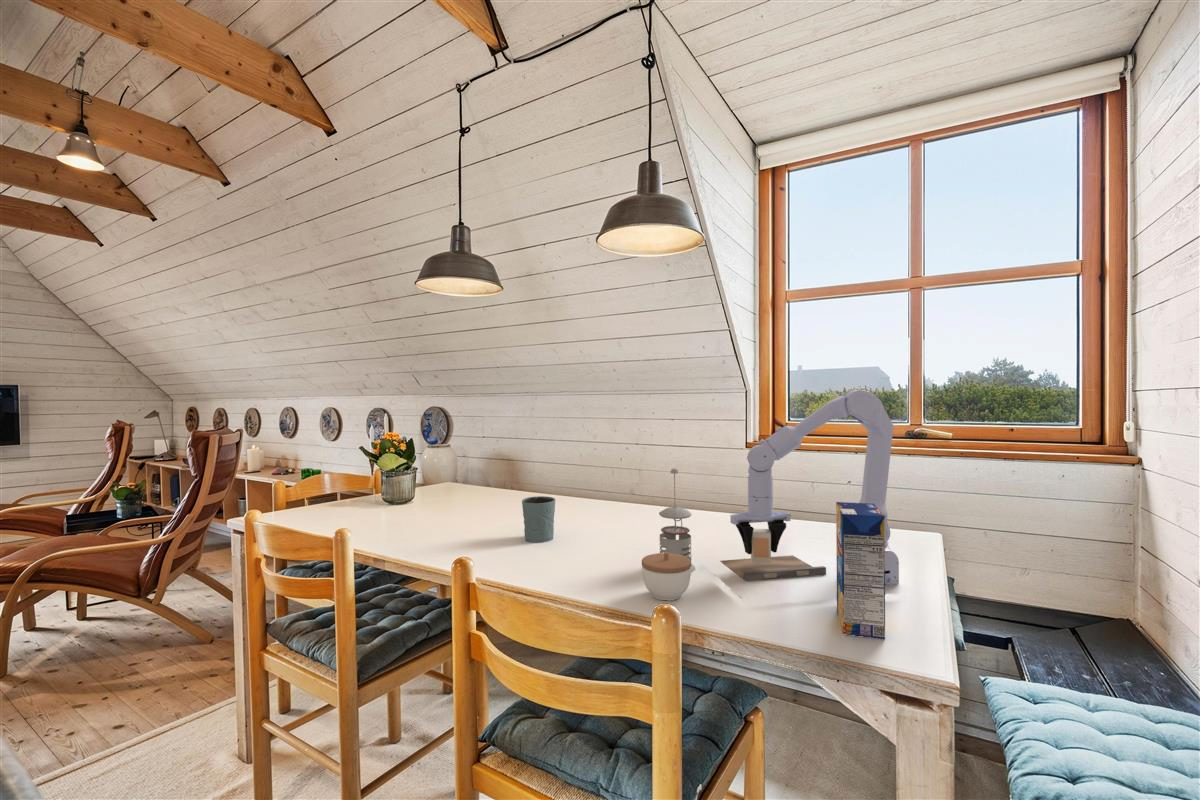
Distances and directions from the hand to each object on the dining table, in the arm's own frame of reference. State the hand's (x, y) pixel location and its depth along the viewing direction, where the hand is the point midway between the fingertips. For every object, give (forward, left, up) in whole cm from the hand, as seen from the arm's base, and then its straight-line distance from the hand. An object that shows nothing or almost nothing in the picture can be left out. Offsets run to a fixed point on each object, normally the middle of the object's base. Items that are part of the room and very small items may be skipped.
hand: (760, 552), depth 133 cm
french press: (+10, +18, -6) cm, 21 cm away
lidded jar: (-8, +26, -6) cm, 28 cm away
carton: (0, 0, -2) cm, 2 cm away
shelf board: (+1, -3, -5) cm, 6 cm away
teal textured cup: (+44, +50, -6) cm, 67 cm away
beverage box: (-30, -5, -6) cm, 31 cm away
